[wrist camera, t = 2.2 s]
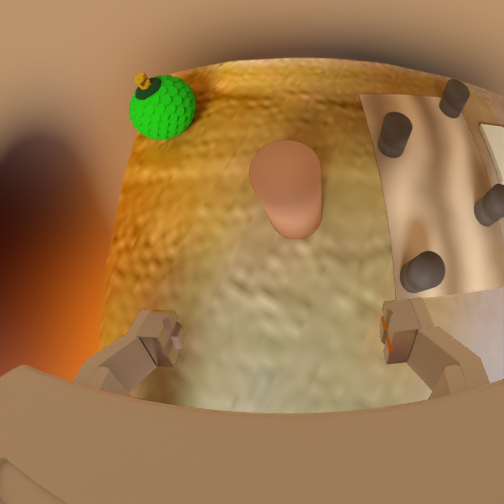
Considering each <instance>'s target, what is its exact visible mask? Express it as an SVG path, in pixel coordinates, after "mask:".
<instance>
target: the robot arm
mask: <svg viewBox="0 0 504 504" xmlns="http://www.w3.org/2000/svg"><path fill="white" fill-rule="evenodd" d="M382 311H383V316H382V317H381V320H380V337H381V342H382V343H384V344H385V346H384V356H385V361H386V365H387V364H397V363H405V362H407V364H408V365H409V366H410V367H411V368H412V369H413V370H414V371H415V373H416V374H417V375H418V376H419V377H420V378H421V379H422V380H423V381H424V382H425V383H426V385H427V386H428V387H429V388H430V389H431V390H432V391H433V392H432V393H431V395H430V397H429V398H428V400H423V401H418V402H413V403H407V404H401V405H395V406H388V407H380V408H372V409H363V410H353V411H341V412H325V413H249V412H233V411H220V410H210V409H201V408H193V407H185V406H178V405H171V404H165V403H159V402H154V401H148V400H143V399H138V398H133V397H132V396H131V395H130V394H129V393H130V392H131V391H132V390H133V389H134V388H135V387H136V386H137V385H138V384H139V383H140V382H141V381H142V380H143V379H144V378H145V377H147V376H148V375H149V374H150V373H151V372H152V371H153V370H154V369H155V368H156V367H157V366H166V367H174V366H175V364H176V361H177V359H178V356H179V354H178V350H179V349H180V348H181V347H182V346H183V344H184V339H185V333H184V329H183V327H182V325H181V324H180V323H178V322H177V320H178V316H177V314H176V312H175V311H167V310H142V311H140V313H139V315H138V316H137V318H136V320H135V321H134V323H133V325H132V326H131V328H130V330H129V331H128V333H127V335H126V336H122V337H120V338H119V339H117V340H116V341H114V342H113V343H112V344H110V345H109V346H107V347H106V348H104V349H103V350H101V351H100V352H98V353H97V354H95V355H94V356H93V357H91V358H90V359H88V360H87V361H85V362H84V364H83V365H82V367H81V369H80V370H79V372H78V374H77V375H76V377H75V379H74V380H73V382H72V381H69V380H66V379H63V378H60V377H57V376H53V375H51V374H48V373H45V372H42V371H39V370H37V369H35V368H32V367H30V366H27V365H20V366H19V367H16V368H14V369H12V370H11V371H9V372H8V373H6V374H4V375H3V376H1V377H0V504H504V379H502V380H499V381H496V382H493V383H490V382H489V380H488V377H487V374H486V372H485V369H484V366H483V364H482V361H481V359H480V357H478V356H477V355H476V354H474V353H473V352H472V351H470V350H469V349H468V348H466V347H465V346H464V345H462V344H461V343H460V342H458V341H457V340H456V339H454V338H453V337H452V336H450V335H449V334H448V333H446V332H445V331H443V330H442V329H441V328H439V327H434V324H433V322H432V319H431V317H430V315H429V312H428V310H427V307H426V305H425V303H424V301H423V298H421V297H416V298H409V299H401V300H393V301H384V303H383V307H382Z"/></svg>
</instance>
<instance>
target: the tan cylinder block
mask: <svg viewBox="0 0 504 504" xmlns="http://www.w3.org/2000/svg"><path fill="white" fill-rule="evenodd" d="M249 177H250V182H251V184H252V186H253V188H254V190H255V192H256V194H257V196H258V198H259V200H260V202H261V203H262V205H263V207H264V209H265V211H266V213H267V215H268V217H269V219H270V221H271V223H272V225H273V227H274V228H275V230H276V231H277V232H278V233H279V234H280V235H282V236H284V237H286V238H289V239H303V238H306V237H308V236H310V235H311V234H313V233H314V232H315V231H316V230H317V228H318V227H319V225H320V222H321V219H322V184H321V164H320V161H319V158H318V156H317V155H316V153H315V152H314V151H313V150H312V149H311V148H310V147H308V146H307V145H305V144H303V143H301V142H297V141H293V140H281V141H276V142H273V143H270V144H268V145H267V146H265V147H263V148H262V149H261V150H260V151H259V152H258V153H257V154H256V155H255V156H254V158H253V160H252V162H251V165H250V169H249Z"/></svg>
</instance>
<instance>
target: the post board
mask: <svg viewBox="0 0 504 504" xmlns="http://www.w3.org/2000/svg"><path fill="white" fill-rule="evenodd" d="M469 95H470V92H469V89H468V88H467V87H466V86H465V85H464V84H463V83H462V82H460V81H458V80H455V79H450V80H449V81H448V83H447V85H446V88H445V91H444V93H443V96H442V98H441V97H431V96H418V95H401V94H359V97H360V100H361V104H362V107H363V110H364V114H365V117H366V121H367V125H368V128H369V132H370V136H371V140H372V144H373V148H374V152H375V156H376V161H377V165H378V170H379V175H380V180H381V185H382V190H383V196H384V201H385V207H386V213H387V220H388V226H389V234H390V241H391V250H392V259H393V269H394V281H395V295H396V300H401V299H409V298H416V297H421V298H427V297H435V296H444V295H452V294H459V293H467V292H474V291H481V290H487V289H494V288H500V287H504V245H503V239H502V234H501V229H500V224H499V220H500V219H501V218H502V217H504V186H503V185H501V184H496V185H495V186H493V187H492V188H490V185H489V181H488V178H487V175H486V172H485V169H484V166H483V163H482V160H481V157H480V154H479V151H478V149H477V146H476V143H475V141H474V138H473V136H472V133H471V131H470V129H469V126H468V124H467V122H466V119H465V117H464V115H463V113H462V109H463V107H464V105H465V103H466V101H467V99H468V97H469Z"/></svg>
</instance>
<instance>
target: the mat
mask: <svg viewBox="0 0 504 504" xmlns="http://www.w3.org/2000/svg"><path fill="white" fill-rule="evenodd" d="M479 129H480V131H481V133H482V136H483V138H484V140H485V143H486V145H487V148H488V150H489V153H490V156H491V158H492V161H493V164H494V167H495V169H496V172H497V175H498V178H499V182H500V184H504V127H501V126H494V125H487V124H481V125H480V126H479Z"/></svg>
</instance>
